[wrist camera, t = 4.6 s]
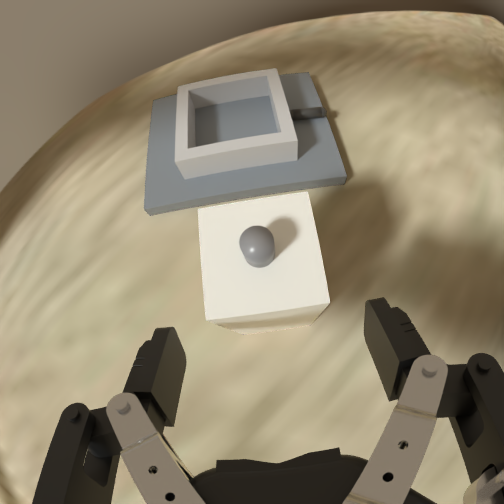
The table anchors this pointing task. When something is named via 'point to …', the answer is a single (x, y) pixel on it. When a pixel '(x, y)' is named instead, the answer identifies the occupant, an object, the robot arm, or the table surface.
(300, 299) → the block
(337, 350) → the table surface
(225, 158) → the charging dock
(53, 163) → the table surface
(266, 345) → the table surface
